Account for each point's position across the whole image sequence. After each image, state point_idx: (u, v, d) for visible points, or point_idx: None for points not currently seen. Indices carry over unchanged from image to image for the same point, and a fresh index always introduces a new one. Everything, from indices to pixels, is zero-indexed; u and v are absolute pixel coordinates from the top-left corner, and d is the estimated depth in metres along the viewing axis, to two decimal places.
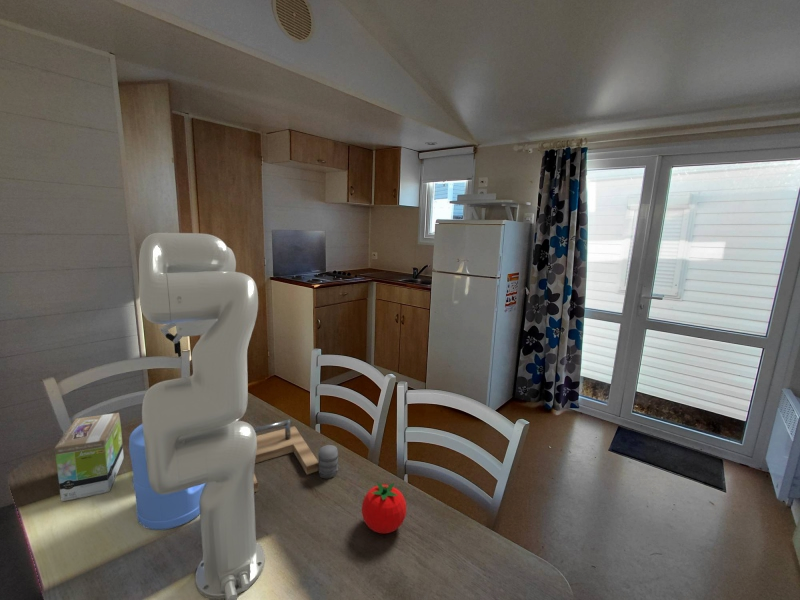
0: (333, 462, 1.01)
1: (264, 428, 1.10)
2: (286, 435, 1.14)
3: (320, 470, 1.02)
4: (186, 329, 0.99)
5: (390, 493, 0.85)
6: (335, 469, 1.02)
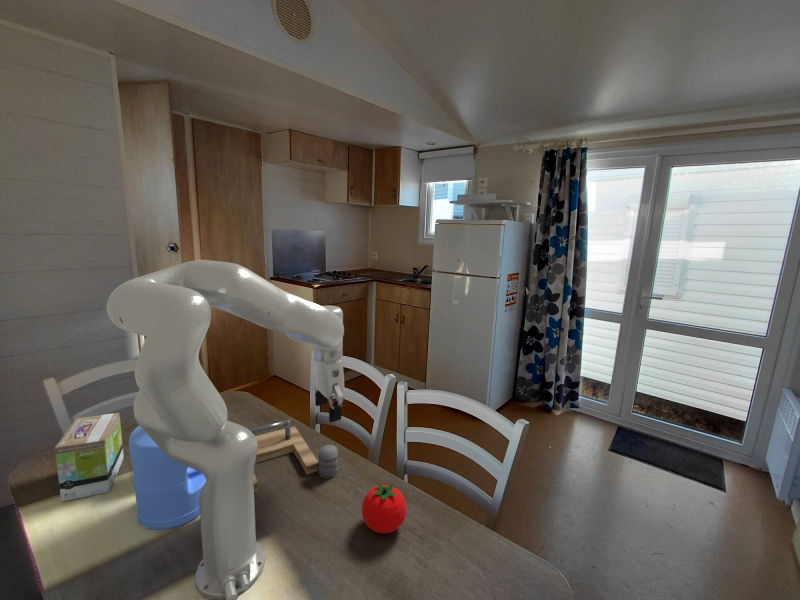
0: (333, 462, 1.01)
1: (264, 428, 1.10)
2: (286, 435, 1.14)
3: (320, 470, 1.02)
4: None
5: (390, 493, 0.85)
6: (335, 469, 1.02)
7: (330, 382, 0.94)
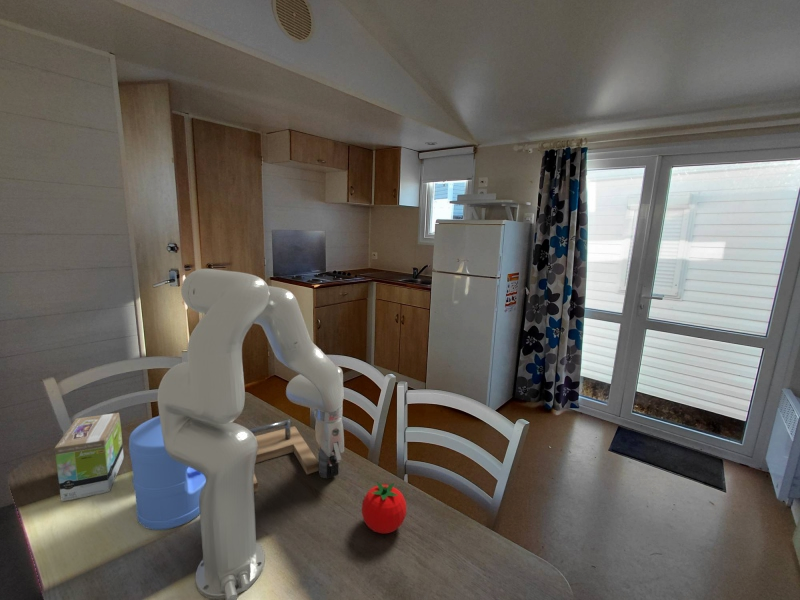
0: None
1: (264, 428, 1.10)
2: (286, 435, 1.14)
3: (320, 470, 1.02)
4: None
5: (390, 493, 0.85)
6: None
7: (330, 441, 0.97)
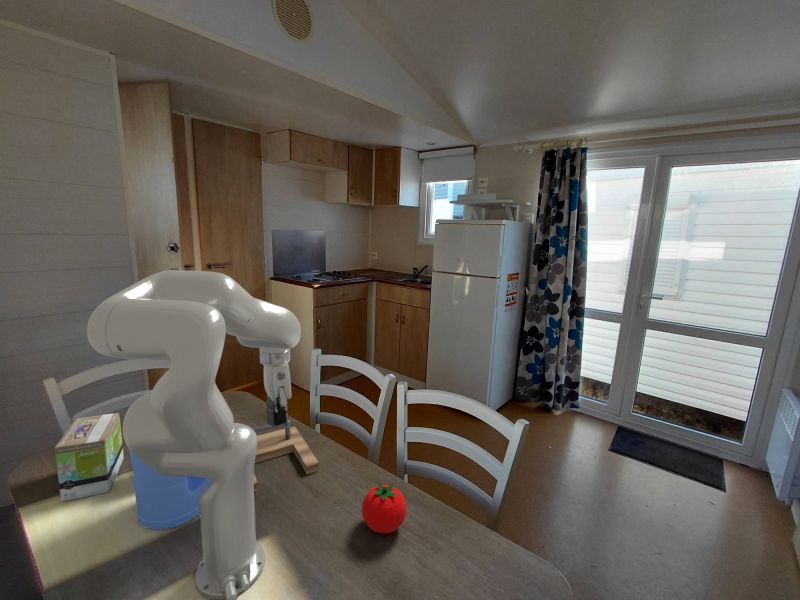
0: None
1: (264, 428, 1.10)
2: (286, 435, 1.14)
3: (268, 418, 0.98)
4: None
5: (390, 493, 0.85)
6: None
7: (275, 385, 0.93)
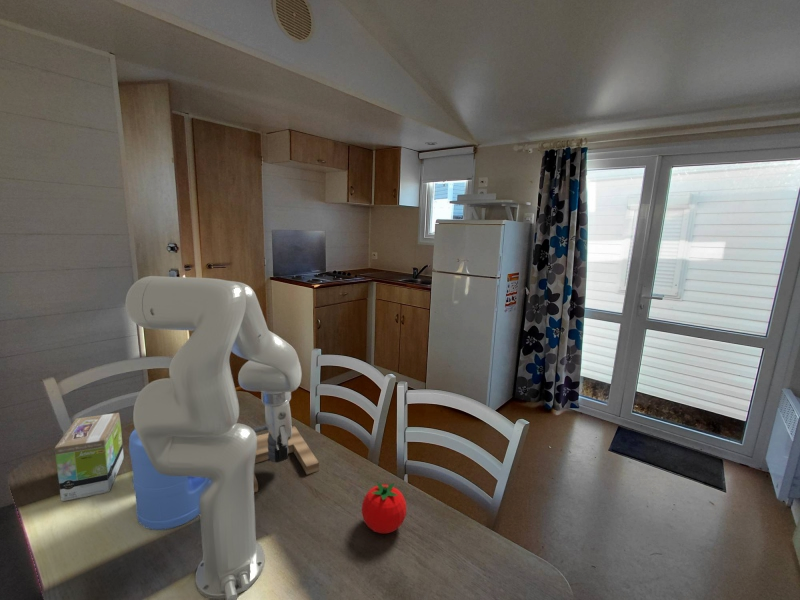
0: None
1: (264, 428, 1.10)
2: None
3: (269, 454, 1.01)
4: None
5: (390, 493, 0.85)
6: None
7: (276, 424, 0.95)
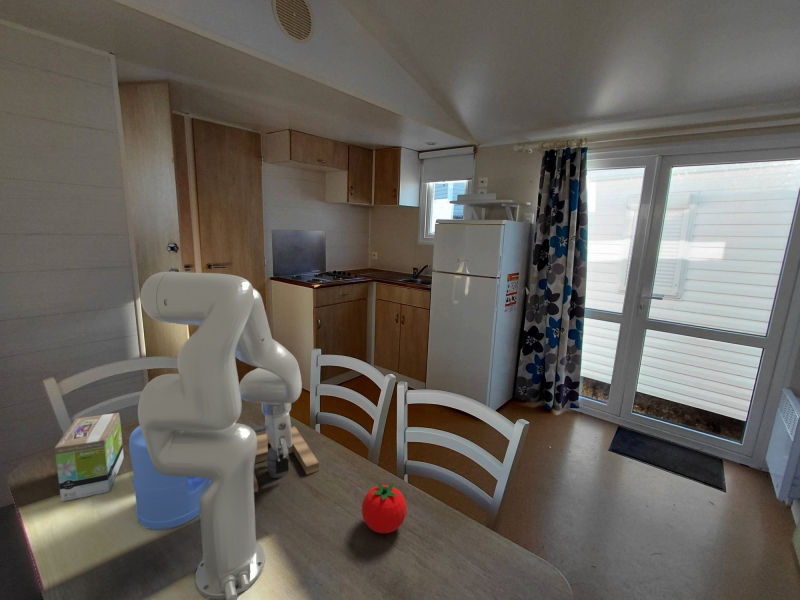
0: None
1: (264, 428, 1.10)
2: None
3: (269, 470, 1.01)
4: None
5: (390, 493, 0.85)
6: None
7: (276, 435, 0.96)
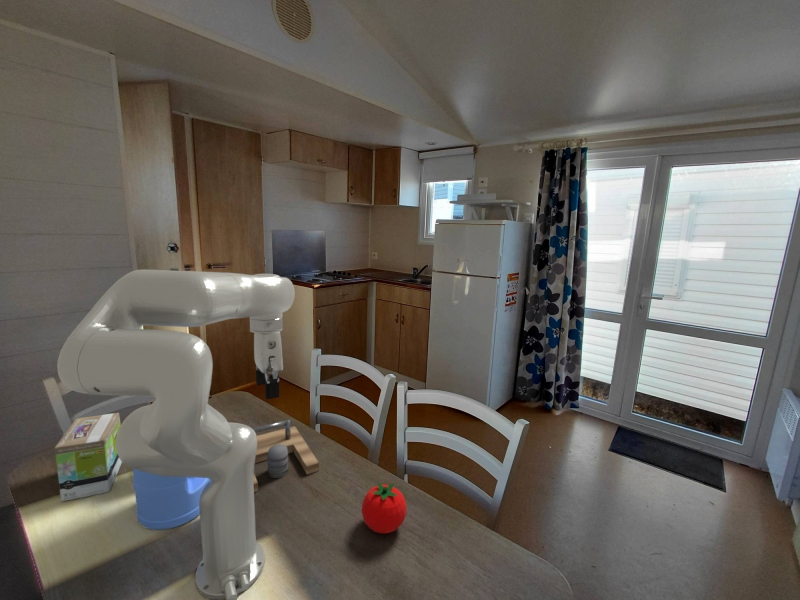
0: (282, 462, 1.01)
1: (264, 428, 1.10)
2: (286, 435, 1.14)
3: (269, 470, 1.01)
4: None
5: (390, 493, 0.85)
6: (284, 469, 1.02)
7: (265, 354, 0.87)
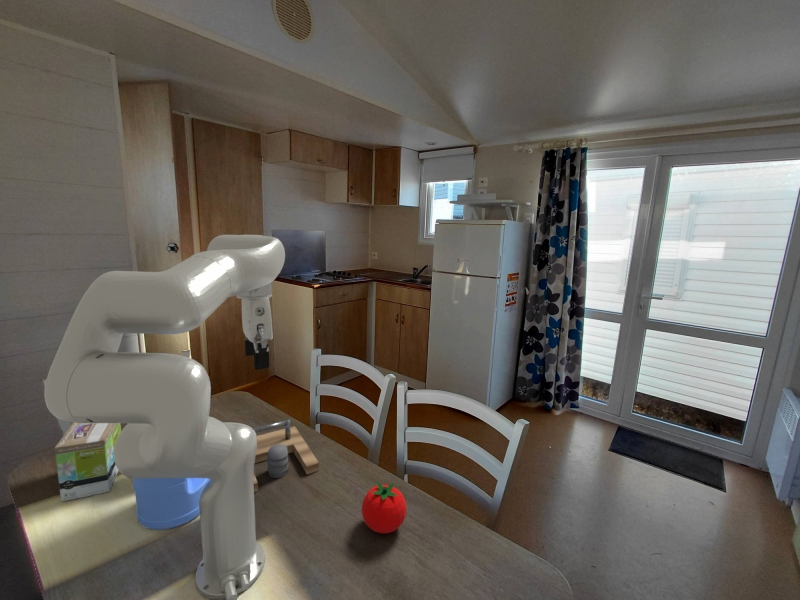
0: (282, 462, 1.01)
1: (264, 428, 1.10)
2: (286, 435, 1.14)
3: (269, 470, 1.01)
4: None
5: (390, 493, 0.85)
6: (284, 469, 1.02)
7: (253, 321, 0.80)
